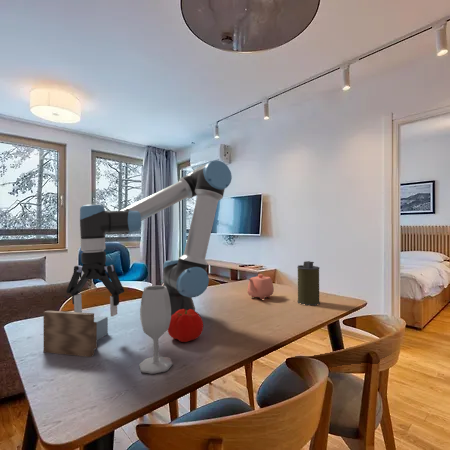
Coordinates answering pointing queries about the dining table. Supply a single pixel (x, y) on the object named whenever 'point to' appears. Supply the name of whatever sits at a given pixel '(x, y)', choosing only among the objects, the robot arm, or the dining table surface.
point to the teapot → (260, 286)
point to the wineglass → (155, 325)
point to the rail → (101, 326)
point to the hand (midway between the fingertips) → (95, 314)
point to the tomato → (185, 325)
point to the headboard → (70, 333)
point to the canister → (308, 284)
